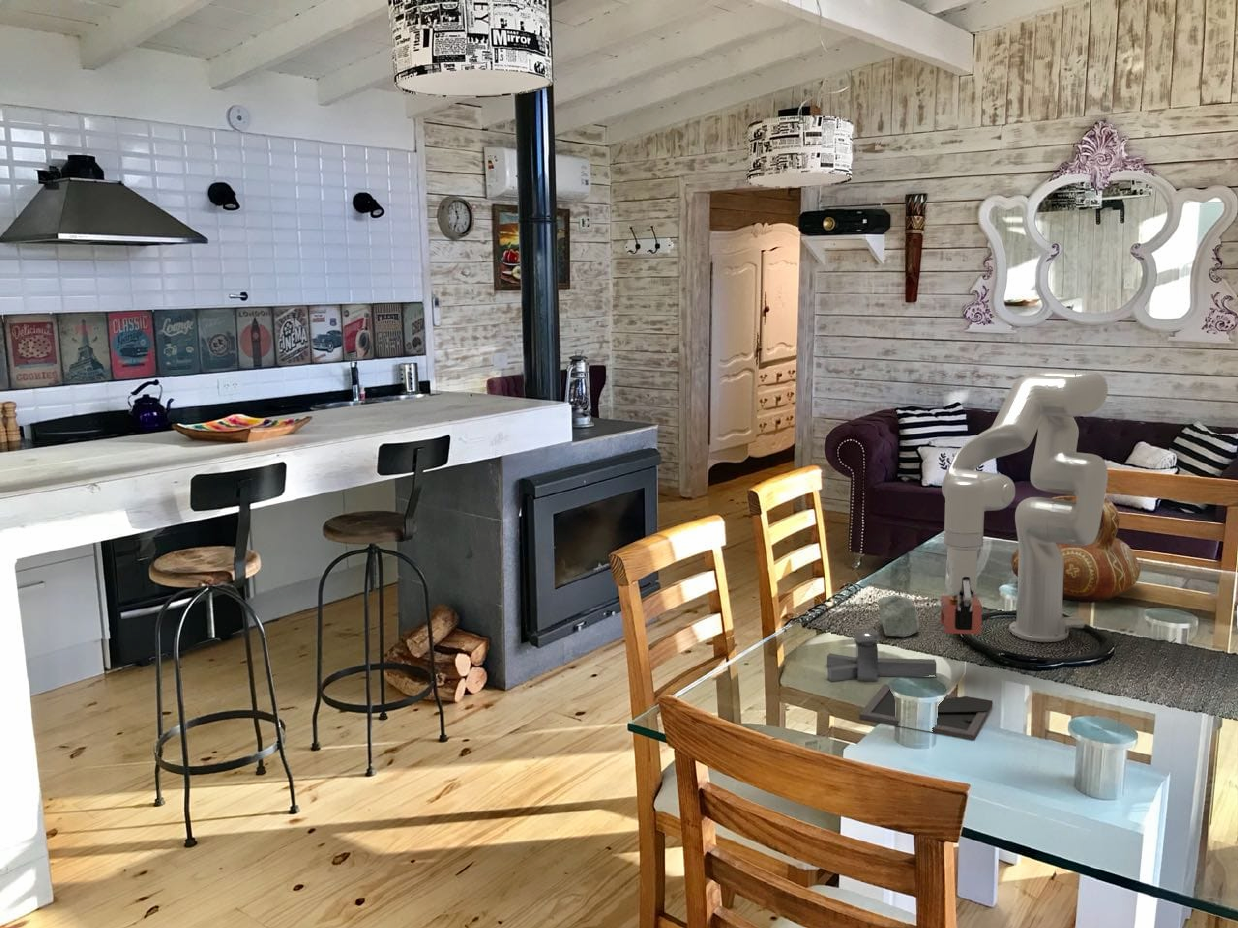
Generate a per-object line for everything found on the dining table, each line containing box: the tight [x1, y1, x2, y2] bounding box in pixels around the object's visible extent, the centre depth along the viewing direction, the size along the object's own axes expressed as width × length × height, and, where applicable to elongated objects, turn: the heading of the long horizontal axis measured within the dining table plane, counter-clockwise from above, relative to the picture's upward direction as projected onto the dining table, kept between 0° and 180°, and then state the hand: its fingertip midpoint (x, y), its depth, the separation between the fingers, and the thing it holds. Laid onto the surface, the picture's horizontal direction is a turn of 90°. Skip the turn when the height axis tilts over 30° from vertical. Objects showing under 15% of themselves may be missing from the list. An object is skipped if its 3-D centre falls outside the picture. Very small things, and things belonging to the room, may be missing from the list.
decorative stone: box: [877, 595, 920, 638], centre depth 243 cm, size 13×11×10 cm
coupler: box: [826, 628, 937, 683], centre depth 218 cm, size 22×10×9 cm, turn 80°
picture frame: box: [858, 683, 994, 741], centre depth 199 cm, size 16×2×21 cm
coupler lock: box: [940, 595, 983, 635], centre depth 213 cm, size 7×6×7 cm
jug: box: [1010, 495, 1141, 604], centre depth 265 cm, size 30×30×25 cm
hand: (960, 622), depth 213 cm, fingers closed on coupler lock, 6 cm apart
